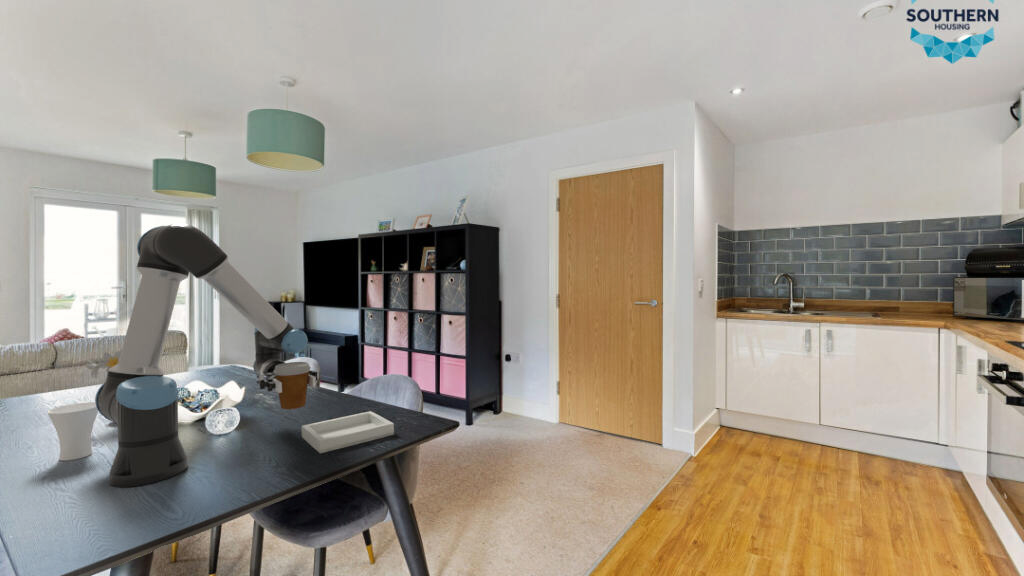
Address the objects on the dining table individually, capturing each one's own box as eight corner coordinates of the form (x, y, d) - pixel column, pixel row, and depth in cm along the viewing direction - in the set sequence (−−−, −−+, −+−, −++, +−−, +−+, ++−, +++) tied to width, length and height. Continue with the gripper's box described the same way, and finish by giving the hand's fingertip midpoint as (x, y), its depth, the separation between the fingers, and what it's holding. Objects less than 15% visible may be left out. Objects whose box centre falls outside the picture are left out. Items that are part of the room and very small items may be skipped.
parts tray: (320, 453, 123) (319, 440, 123) (301, 437, 136) (301, 425, 136) (393, 434, 137) (393, 423, 137) (371, 421, 150) (370, 411, 150)
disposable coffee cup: (301, 411, 123) (300, 368, 122) (267, 411, 123) (266, 368, 122) (317, 401, 132) (316, 361, 132) (285, 401, 132) (284, 361, 132)
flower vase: (80, 426, 147) (77, 351, 146) (144, 411, 164) (142, 343, 163) (102, 431, 142) (100, 353, 141) (166, 415, 159) (164, 345, 158)
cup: (51, 455, 123) (50, 407, 123) (103, 446, 130) (101, 400, 129) (45, 467, 115) (43, 415, 115) (100, 456, 122) (99, 407, 121)
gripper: (311, 378, 148) (336, 391, 131) (238, 389, 134) (255, 405, 117) (310, 356, 148) (335, 366, 131) (237, 365, 134) (254, 377, 117)
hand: (297, 384), depth 124 cm, fingers closed on disposable coffee cup, 8 cm apart
